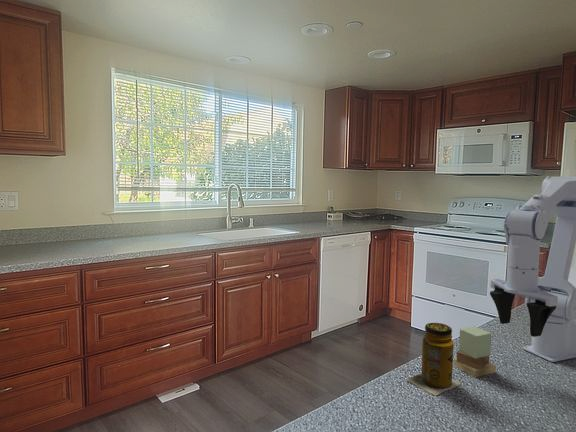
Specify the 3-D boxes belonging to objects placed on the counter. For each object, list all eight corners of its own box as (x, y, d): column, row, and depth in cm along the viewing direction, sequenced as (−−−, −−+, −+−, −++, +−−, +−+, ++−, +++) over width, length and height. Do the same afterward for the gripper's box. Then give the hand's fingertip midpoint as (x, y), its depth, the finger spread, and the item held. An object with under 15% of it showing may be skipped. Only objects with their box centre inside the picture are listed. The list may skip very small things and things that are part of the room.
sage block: (473, 347, 90) (474, 326, 90) (490, 355, 86) (491, 333, 86) (459, 350, 89) (459, 329, 88) (475, 358, 85) (476, 336, 84)
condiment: (461, 384, 81) (463, 328, 80) (435, 396, 76) (437, 337, 75) (431, 370, 87) (432, 318, 86) (405, 380, 83) (407, 325, 82)
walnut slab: (466, 355, 91) (467, 346, 91) (488, 362, 88) (489, 353, 87) (456, 361, 88) (456, 352, 88) (479, 369, 84) (479, 359, 84)
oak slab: (474, 363, 92) (474, 354, 92) (495, 375, 86) (495, 365, 86) (453, 367, 90) (454, 358, 89) (474, 380, 84) (474, 370, 84)
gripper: (481, 261, 88) (478, 319, 90) (540, 276, 75) (536, 344, 76) (505, 259, 91) (502, 316, 92) (567, 273, 77) (563, 340, 78)
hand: (519, 329), depth 84 cm, fingers open, 7 cm apart
